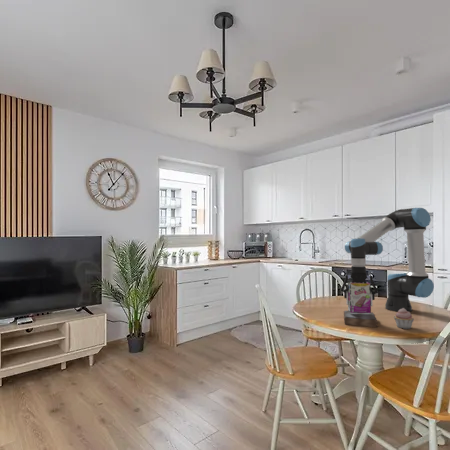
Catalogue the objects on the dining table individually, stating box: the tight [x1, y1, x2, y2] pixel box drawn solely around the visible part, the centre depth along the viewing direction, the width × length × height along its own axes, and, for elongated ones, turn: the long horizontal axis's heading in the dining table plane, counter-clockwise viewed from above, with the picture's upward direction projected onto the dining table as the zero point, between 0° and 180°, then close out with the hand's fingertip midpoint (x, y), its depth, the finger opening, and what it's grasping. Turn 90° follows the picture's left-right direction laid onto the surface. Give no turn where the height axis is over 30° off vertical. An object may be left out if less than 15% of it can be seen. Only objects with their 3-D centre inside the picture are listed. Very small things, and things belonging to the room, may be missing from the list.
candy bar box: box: [347, 281, 372, 313], centre depth 173 cm, size 11×5×16 cm, turn 84°
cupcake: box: [393, 308, 415, 330], centre depth 162 cm, size 9×9×10 cm
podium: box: [343, 310, 378, 328], centre depth 173 cm, size 16×16×4 cm
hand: (359, 305), depth 173 cm, fingers closed on candy bar box, 12 cm apart
